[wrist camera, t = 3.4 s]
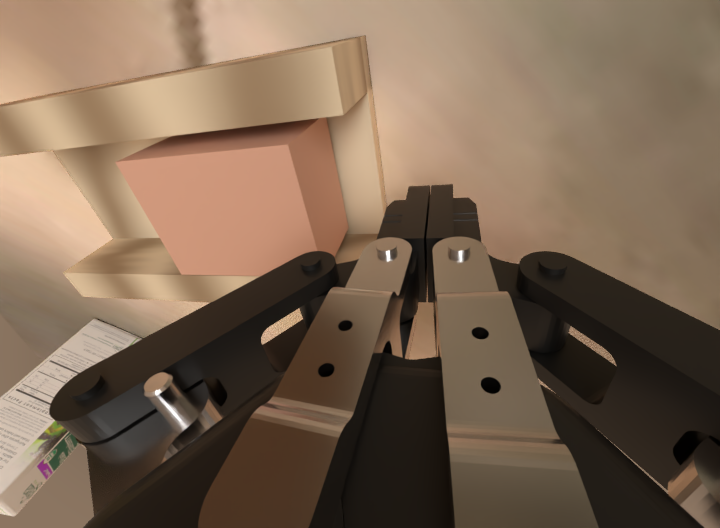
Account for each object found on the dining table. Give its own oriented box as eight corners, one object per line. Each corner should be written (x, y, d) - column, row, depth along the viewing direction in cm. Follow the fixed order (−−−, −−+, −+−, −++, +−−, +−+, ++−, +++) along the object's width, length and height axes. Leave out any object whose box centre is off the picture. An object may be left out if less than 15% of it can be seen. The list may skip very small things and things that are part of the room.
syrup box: (149, 367, 37) (17, 521, 26) (98, 345, 37) (-58, 492, 26) (148, 339, 34) (-5, 505, 23) (91, 315, 33) (-93, 471, 22)
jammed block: (325, 113, 15) (287, 144, 12) (348, 227, 19) (324, 277, 15) (181, 131, 17) (115, 162, 14) (226, 230, 21) (181, 274, 18)
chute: (365, 35, 14) (331, 46, 10) (392, 252, 21) (377, 309, 17) (35, 96, 20) (-67, 118, 16) (138, 253, 26) (82, 296, 22)
